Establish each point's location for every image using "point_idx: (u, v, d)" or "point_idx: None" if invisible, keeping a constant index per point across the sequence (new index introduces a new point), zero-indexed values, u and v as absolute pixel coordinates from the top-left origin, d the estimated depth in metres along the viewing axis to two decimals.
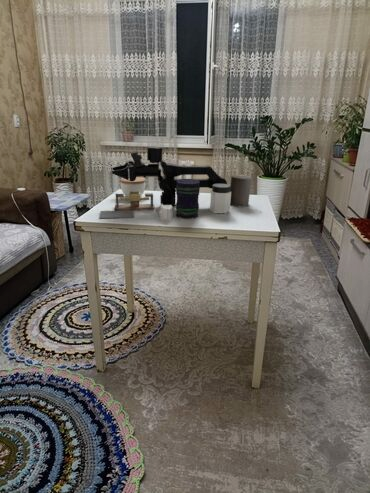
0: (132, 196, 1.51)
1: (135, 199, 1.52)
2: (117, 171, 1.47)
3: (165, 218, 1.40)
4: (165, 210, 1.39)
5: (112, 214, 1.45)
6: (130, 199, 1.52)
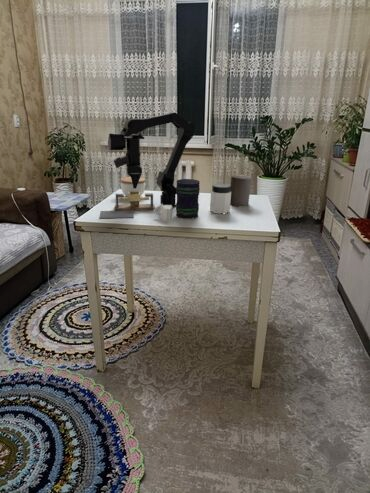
0: (132, 196, 1.51)
1: (135, 199, 1.52)
2: (133, 183, 1.46)
3: (165, 218, 1.40)
4: (165, 210, 1.39)
5: (112, 214, 1.45)
6: (130, 199, 1.52)
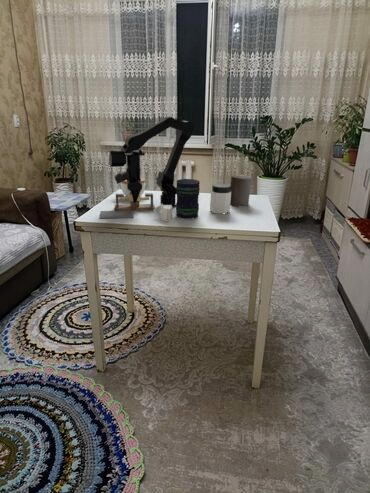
0: None
1: None
2: (133, 197, 1.50)
3: (165, 218, 1.40)
4: (165, 210, 1.39)
5: (112, 214, 1.45)
6: (130, 199, 1.52)
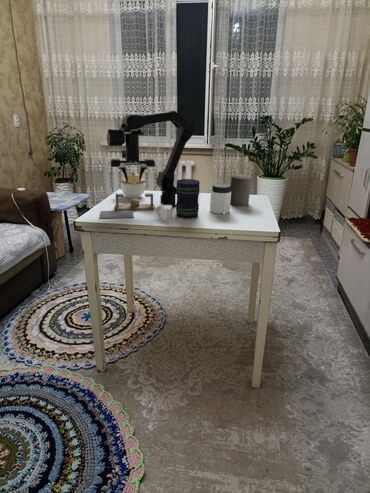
0: (127, 176, 1.50)
1: None
2: None
3: (165, 218, 1.40)
4: (165, 210, 1.39)
5: (112, 214, 1.45)
6: None
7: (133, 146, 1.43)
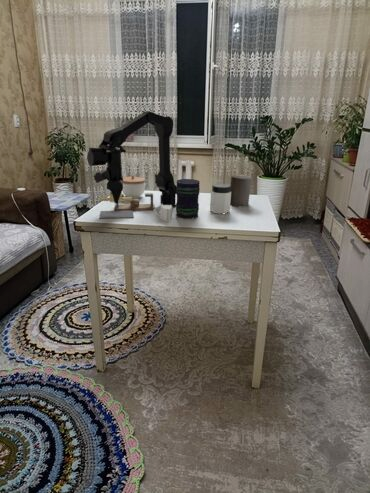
0: None
1: None
2: (114, 198, 1.40)
3: (165, 218, 1.40)
4: (165, 210, 1.39)
5: (112, 214, 1.45)
6: (111, 199, 1.41)
7: None
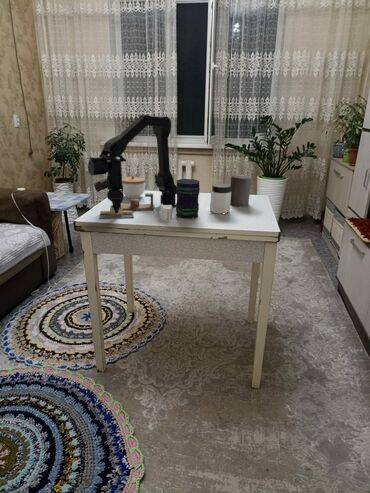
0: (113, 210, 1.43)
1: (117, 213, 1.43)
2: (114, 208, 1.39)
3: (165, 218, 1.40)
4: (165, 210, 1.39)
5: None
6: (111, 213, 1.43)
7: (121, 172, 1.40)
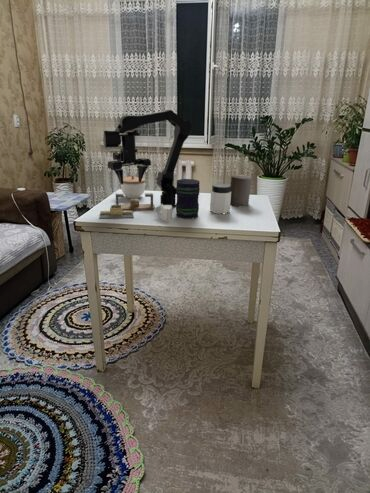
0: (113, 210, 1.43)
1: (117, 213, 1.43)
2: (119, 179, 1.48)
3: (165, 218, 1.40)
4: (165, 210, 1.39)
5: None
6: (111, 213, 1.43)
7: (132, 147, 1.44)
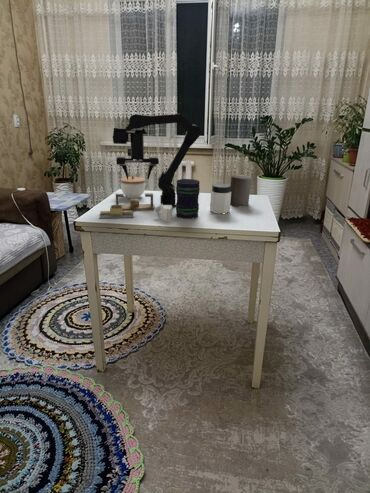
0: (113, 210, 1.43)
1: (117, 213, 1.43)
2: None
3: (165, 218, 1.40)
4: (165, 210, 1.39)
5: None
6: (111, 213, 1.43)
7: (138, 144, 1.49)
